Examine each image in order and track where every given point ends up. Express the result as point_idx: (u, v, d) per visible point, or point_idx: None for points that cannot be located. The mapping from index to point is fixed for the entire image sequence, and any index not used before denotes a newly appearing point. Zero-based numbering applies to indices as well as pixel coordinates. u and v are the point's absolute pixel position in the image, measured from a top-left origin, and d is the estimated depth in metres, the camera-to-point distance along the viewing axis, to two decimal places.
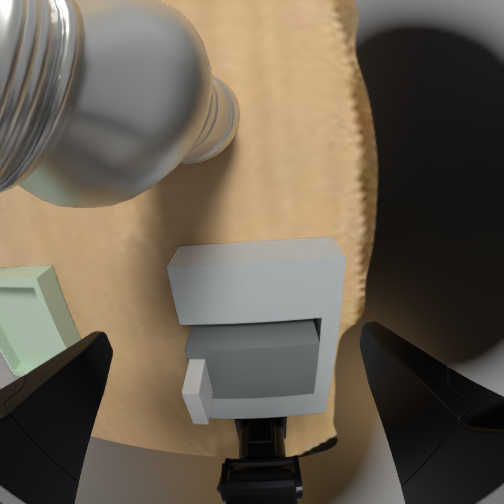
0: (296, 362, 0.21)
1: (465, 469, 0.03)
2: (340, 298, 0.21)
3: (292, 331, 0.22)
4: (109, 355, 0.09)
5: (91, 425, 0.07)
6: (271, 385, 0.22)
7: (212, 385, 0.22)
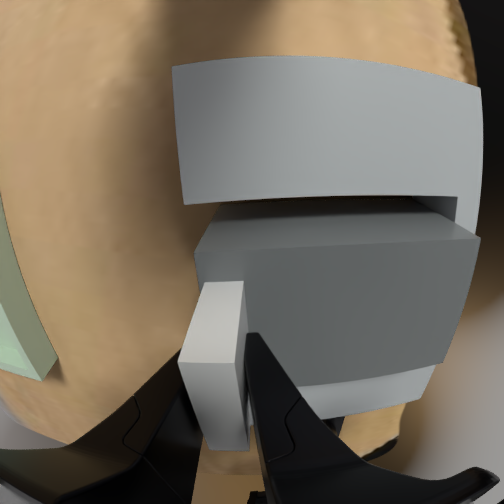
0: (439, 287, 0.09)
1: None
2: (480, 162, 0.09)
3: (423, 224, 0.10)
4: None
5: (201, 441, 0.07)
6: (380, 348, 0.10)
7: None
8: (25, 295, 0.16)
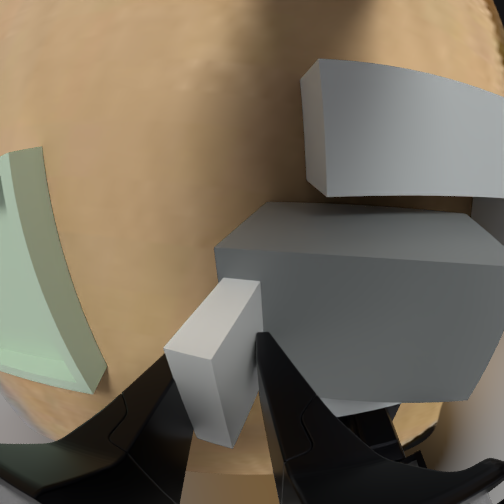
0: (472, 317, 0.07)
1: None
2: None
3: (466, 243, 0.08)
4: None
5: (190, 440, 0.07)
6: (399, 374, 0.08)
7: None
8: (74, 299, 0.16)
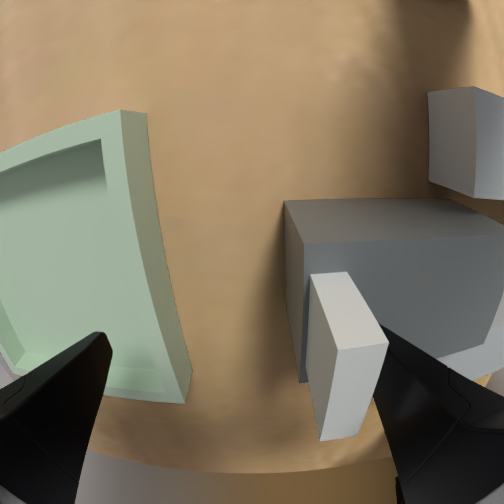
0: (489, 275, 0.09)
1: (465, 469, 0.03)
2: None
3: (473, 221, 0.10)
4: (109, 355, 0.09)
5: (91, 425, 0.07)
6: (442, 331, 0.10)
7: None
8: (171, 296, 0.15)
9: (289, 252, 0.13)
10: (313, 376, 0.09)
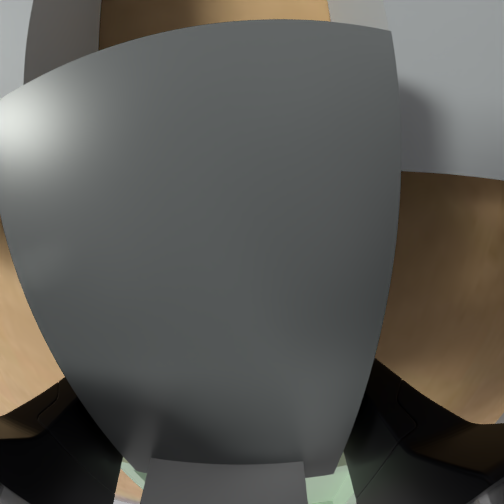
0: (72, 180, 0.03)
1: (406, 495, 0.03)
2: None
3: None
4: None
5: None
6: (272, 309, 0.04)
7: (270, 462, 0.06)
8: None
9: None
10: None
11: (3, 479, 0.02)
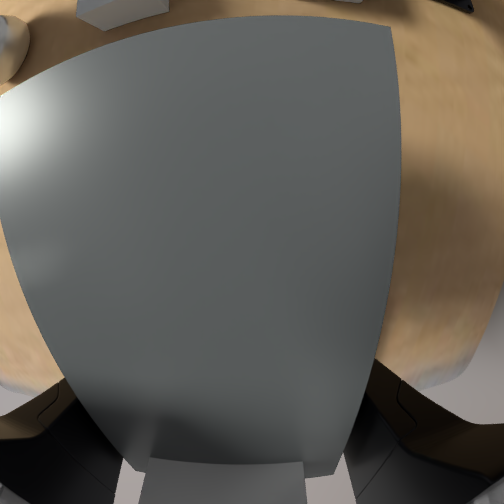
0: (70, 177, 0.03)
1: (406, 495, 0.03)
2: None
3: None
4: None
5: None
6: (272, 307, 0.04)
7: (270, 462, 0.06)
8: None
9: None
10: None
11: (3, 479, 0.02)
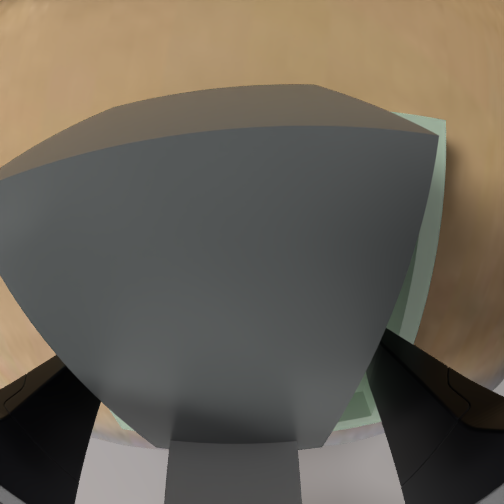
0: (82, 284, 0.03)
1: (465, 469, 0.03)
2: None
3: None
4: None
5: (91, 425, 0.07)
6: (276, 368, 0.04)
7: (270, 442, 0.07)
8: None
9: None
10: None
11: None
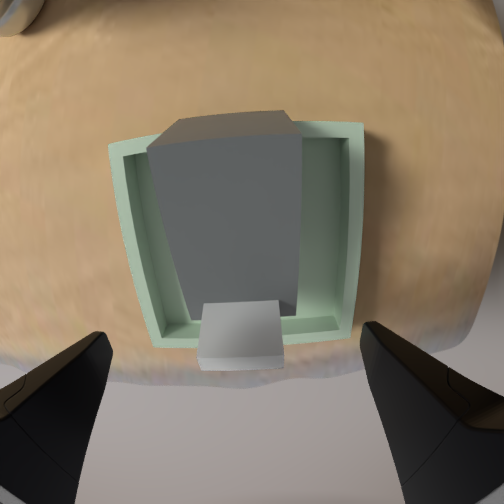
0: (196, 180, 0.11)
1: (464, 469, 0.03)
2: None
3: None
4: (109, 355, 0.09)
5: (91, 425, 0.07)
6: (261, 219, 0.12)
7: (263, 299, 0.15)
8: None
9: None
10: None
11: None
